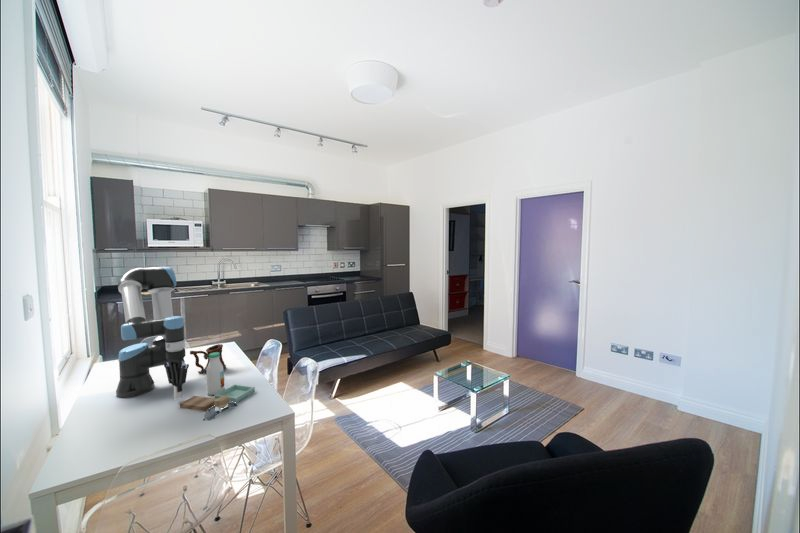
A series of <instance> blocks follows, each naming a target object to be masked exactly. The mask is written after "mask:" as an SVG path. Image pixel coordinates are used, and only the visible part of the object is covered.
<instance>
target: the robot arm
mask: <svg viewBox="0 0 800 533" xmlns="http://www.w3.org/2000/svg"><path fill="white" fill-rule="evenodd" d="M176 286H177V278H176V274H175V271H174V269H173V268H172V267H171V266H153V267H136V268H132V269H130V270H128V271H127V272H125V273H124V274H122V276H121V277H120V279H119V281H118V284H117V289H118V293H120V294H121V299H122V306H123V307H122V308H123V315H124V321H125V322H124V323H123V324H121V326H120V332H121V334H120V335H121V339H122V341H133V340H137V339H144V338H149V337H155V338H154V339H153V340H152V342H151V343H152V344H148V342H142V343H134V344H132V345H129V346H126V347H124V348H122V349H120V350H119V352H118V364H119V381H118V384H117V387H116V389H115V395H116V397H118V398H131V397H136V396H140V395H143V394H146V393H149V392H150V391H152V390H153V389H154V388H155V381H154V380H153V377H152V375H151V373H150V369H151V368H156V367H160V366H164V368H165V371H166V375H167V376H166V378H167V381H168V384H171V385H172V391H173V400H175V401H176V400H178V399H181V398H182V397H183V394H182V393H183V385H184V384H185V383H186V381H187V374H188V369H189V366H190V365H189V363H185V359H184V358H185V356H186V339H185V321H184V316H182V315H181V316H180V315H174V312H173V302H172V294H171V293H172V292H173V291H174V288H175V287H176ZM142 290H147V292H148V293H149V294H150V295H151V302H152V311H153V319H152V320H147V319H146V312H145V307H144V302H143V297H142Z"/></svg>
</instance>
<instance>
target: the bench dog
mask: <svg viewBox="0 0 800 533" xmlns="http://www.w3.org/2000/svg"><path fill="white" fill-rule="evenodd" d="M228 403H229V396H222V397H220V398H218V399H216V400H215V401H214V404H215V406H217V407H219V408H224V407H225V406H226V405H227V404H228ZM229 404H230V403H229ZM215 406H214V407H215Z"/></svg>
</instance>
